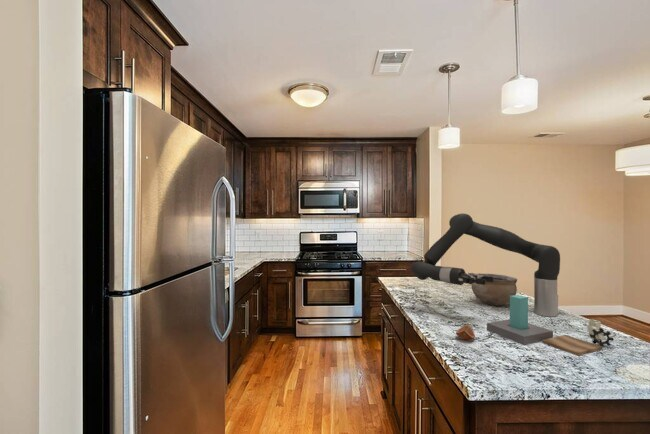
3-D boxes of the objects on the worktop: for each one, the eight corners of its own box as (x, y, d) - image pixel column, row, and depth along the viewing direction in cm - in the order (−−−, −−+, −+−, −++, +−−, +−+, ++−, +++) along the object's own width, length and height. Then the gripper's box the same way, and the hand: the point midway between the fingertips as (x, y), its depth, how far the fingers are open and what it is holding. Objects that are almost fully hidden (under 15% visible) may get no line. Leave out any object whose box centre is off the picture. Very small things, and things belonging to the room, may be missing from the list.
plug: (517, 331, 129) (517, 294, 129) (527, 335, 125) (528, 297, 125) (509, 333, 127) (509, 295, 127) (520, 337, 123) (520, 298, 123)
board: (565, 337, 123) (565, 334, 123) (602, 349, 112) (602, 346, 112) (541, 342, 117) (541, 340, 117) (577, 355, 106) (577, 352, 106)
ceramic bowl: (462, 299, 179) (462, 273, 179) (493, 297, 186) (493, 271, 186) (494, 310, 158) (494, 280, 158) (527, 307, 164) (527, 278, 164)
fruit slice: (472, 345, 115) (473, 331, 115) (453, 341, 119) (453, 327, 119) (476, 338, 122) (476, 325, 122) (458, 334, 126) (458, 321, 126)
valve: (582, 334, 126) (589, 345, 116) (582, 318, 126) (590, 327, 116) (604, 337, 123) (613, 348, 113) (604, 320, 123) (613, 330, 113)
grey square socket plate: (513, 325, 136) (513, 318, 136) (552, 338, 121) (552, 330, 121) (486, 330, 130) (486, 323, 130) (524, 344, 115) (524, 336, 115)
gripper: (445, 268, 141) (483, 273, 129) (459, 265, 151) (495, 270, 139) (444, 285, 141) (482, 292, 129) (459, 281, 151) (495, 287, 139)
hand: (489, 280), depth 134 cm, fingers open, 8 cm apart
